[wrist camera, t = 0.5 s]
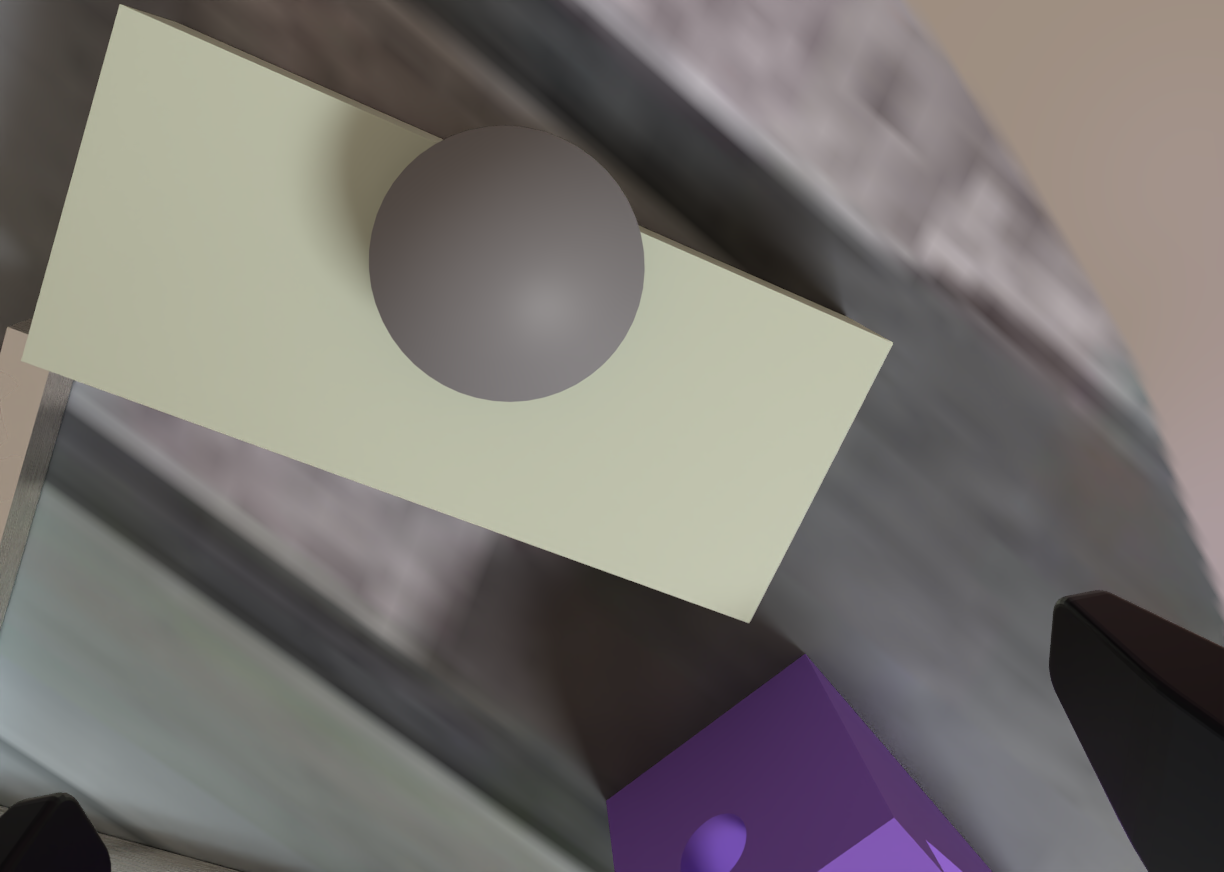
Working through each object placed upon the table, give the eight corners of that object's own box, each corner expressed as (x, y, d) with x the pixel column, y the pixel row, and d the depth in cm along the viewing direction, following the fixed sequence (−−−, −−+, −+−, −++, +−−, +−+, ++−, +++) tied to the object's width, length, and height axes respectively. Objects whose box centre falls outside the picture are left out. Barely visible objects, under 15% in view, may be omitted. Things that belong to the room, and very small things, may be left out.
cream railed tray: (519, 977, 28) (518, 1128, 24) (-98, 813, 25) (-227, 954, 21) (866, 278, 23) (946, 311, 19) (142, -48, 20) (35, -100, 15)
